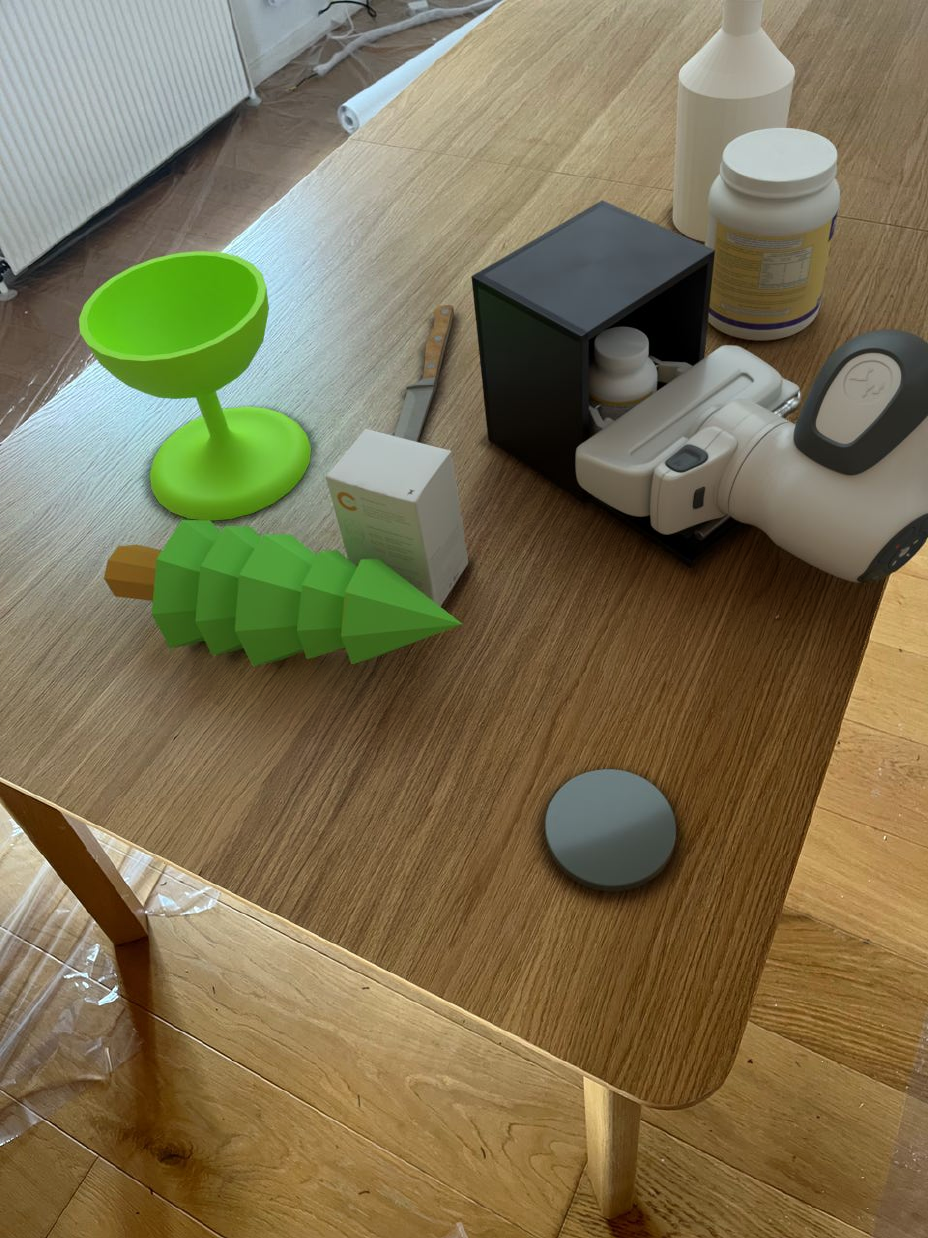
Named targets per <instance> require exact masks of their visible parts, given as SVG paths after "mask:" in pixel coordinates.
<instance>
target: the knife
mask: <svg viewBox="0 0 928 1238" xmlns="http://www.w3.org/2000/svg"><path fill="white" fill-rule="evenodd" d="M454 315H455V310H454V305H451V304H443V305H439V306H437V307H435V308H434V311H433V317H434V320H433V321H434V322H433V326H432V329H431V331H430V333H429V335H428V337H427V340H426V342H425V351H424V352H425V353H424V365H423V366H424V367H423V372H422V378H421V379H420V380H419V381H416V382H414V383H410V384H408V385H407V386H406V388H405V390H406V395H405V399H404V401H403V405H402V408H401V409H402V410H401V412H400V416H399V419H398V423H397V425H396V428H395V432H394V435H393V436H396V437H400V438H404V439H408V440H412V441H415V442H419V440H420V437H421V434H422V431H423V427H424V425H425V421H426V418H427V415H428V414H429V413H428V412H429V410H430V407H431V404H432V402H433V398H434V396H435V394H436V391H437V388H438V382H439V375H440V371H441V368H442V364H443V358H444V354H445V350H446V346H447V343H448V339H449V336H450V332H451V328H452V324H453V320H454Z"/></svg>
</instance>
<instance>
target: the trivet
mask: <svg viewBox="0 0 928 1238" xmlns="http://www.w3.org/2000/svg"><path fill="white" fill-rule="evenodd" d="M544 836H545V843H546V846H547V850H548V852H549V855H550V856H551V858H552V860H553V862H554V863H555V865H556V866H557V867H558V869H560V870H561V872H563V874H565V875H566V876H567V877H568V878H569V879H571V880H572V881H574V882H575V883H577V884H579V885H581V886H583V887H586V888H588V889H591V890H595V891H599V892H607V893H617V892H626V891H631V890H634V889H637V888H639V887H642V886H644V885H646V884H647V883H649V882H651V881H652V880H654V879H655V878H656V877H658V876H659V875H660V874H661V872H662V871H663V870H664V869H665V868H666V866H667V865H668V863H669V861H670V860H671V858H672V855H673V853H674V851H675V850H674V849H675V845H676V838H677V820H676V817H675V813H674V811H673V808H672V806H671V803H670V802H669V800H668V799H667V797H666V796H665V795H664V793H663V792H662V791H661V790H660V789H659V788H658V787H657V786H655V784H653V783H652V782H651V781H649V780H647V779H646V778H645V777H642V776H641V775H638V774H637V773H633V772H632V771H631V772H630V771H627V770H623V769H618V768H617V769H616V768H599V769H593V770H589V771H586V772H583V773H580V774H578V775H576V776H574V777H572V778H571V779H569V780H568V781H567V782H566V781H565V783H564V784H563V785H561V787H559V789H558V790H557V791H556V792H555V794H554V795H553V797H552V798H551V800H550V801H549V803H548V806H547V808H546V812H545V817H544Z"/></svg>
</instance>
